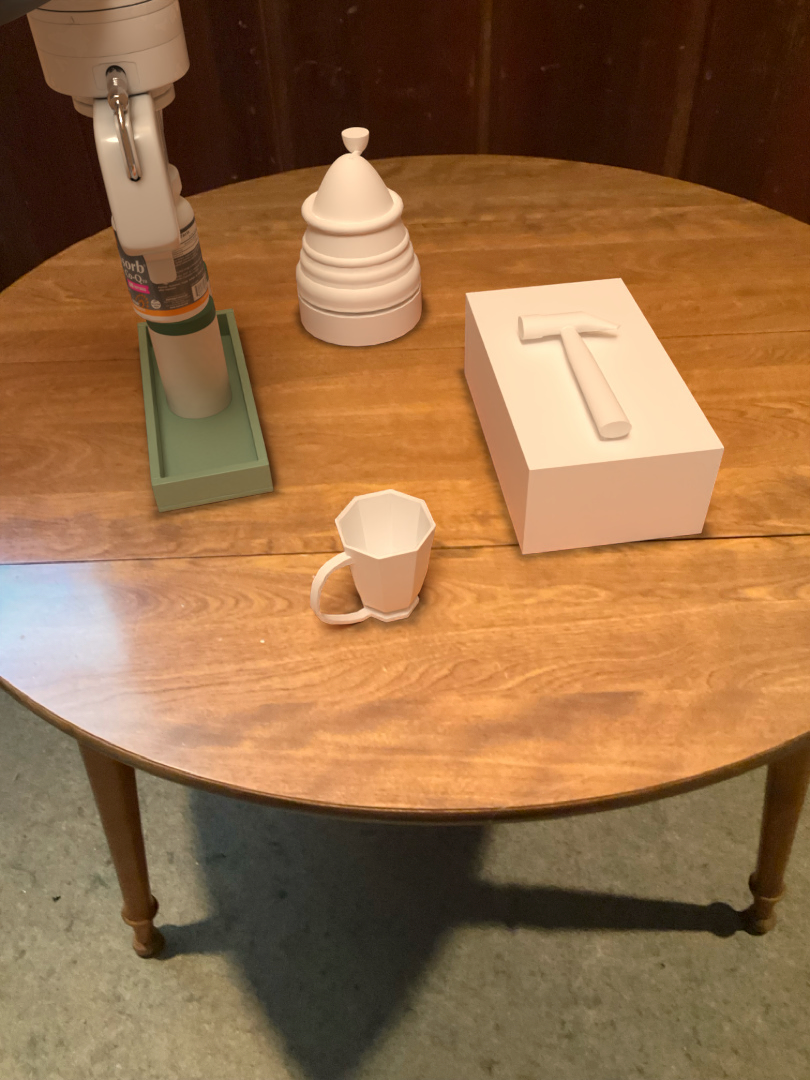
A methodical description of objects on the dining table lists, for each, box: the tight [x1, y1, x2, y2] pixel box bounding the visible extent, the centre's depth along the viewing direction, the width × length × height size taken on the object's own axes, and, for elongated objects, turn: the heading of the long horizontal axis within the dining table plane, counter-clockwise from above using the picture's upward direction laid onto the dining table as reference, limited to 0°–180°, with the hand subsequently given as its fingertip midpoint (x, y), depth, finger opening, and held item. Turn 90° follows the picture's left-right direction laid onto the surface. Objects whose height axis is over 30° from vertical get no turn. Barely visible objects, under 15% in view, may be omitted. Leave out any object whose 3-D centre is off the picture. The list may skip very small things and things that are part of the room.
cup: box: [309, 488, 437, 625], centre depth 66 cm, size 7×10×8 cm
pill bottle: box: [110, 163, 209, 323], centre depth 66 cm, size 6×6×10 cm
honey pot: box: [295, 126, 423, 347], centre depth 92 cm, size 13×13×18 cm
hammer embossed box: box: [463, 277, 725, 555], centre depth 78 cm, size 14×25×11 cm, turn 8°
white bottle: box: [145, 294, 232, 419], centre depth 84 cm, size 6×6×10 cm
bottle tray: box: [136, 308, 274, 513], centre depth 85 cm, size 26×10×3 cm, turn 14°
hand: (161, 254), depth 66 cm, fingers closed on pill bottle, 6 cm apart
